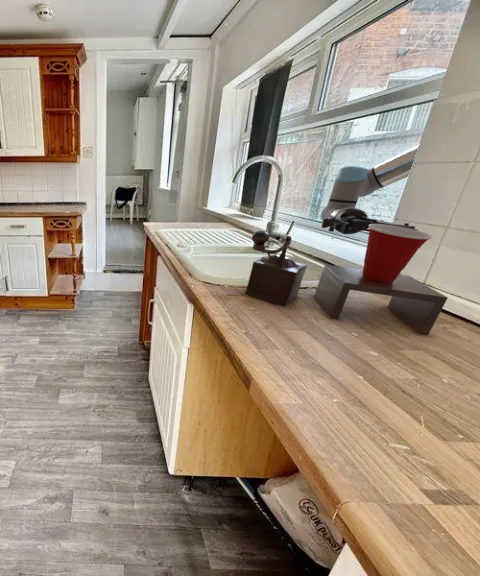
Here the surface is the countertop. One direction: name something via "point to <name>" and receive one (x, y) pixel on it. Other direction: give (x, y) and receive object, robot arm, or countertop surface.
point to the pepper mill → (274, 273)
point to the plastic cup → (390, 251)
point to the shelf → (404, 290)
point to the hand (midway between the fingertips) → (379, 232)
